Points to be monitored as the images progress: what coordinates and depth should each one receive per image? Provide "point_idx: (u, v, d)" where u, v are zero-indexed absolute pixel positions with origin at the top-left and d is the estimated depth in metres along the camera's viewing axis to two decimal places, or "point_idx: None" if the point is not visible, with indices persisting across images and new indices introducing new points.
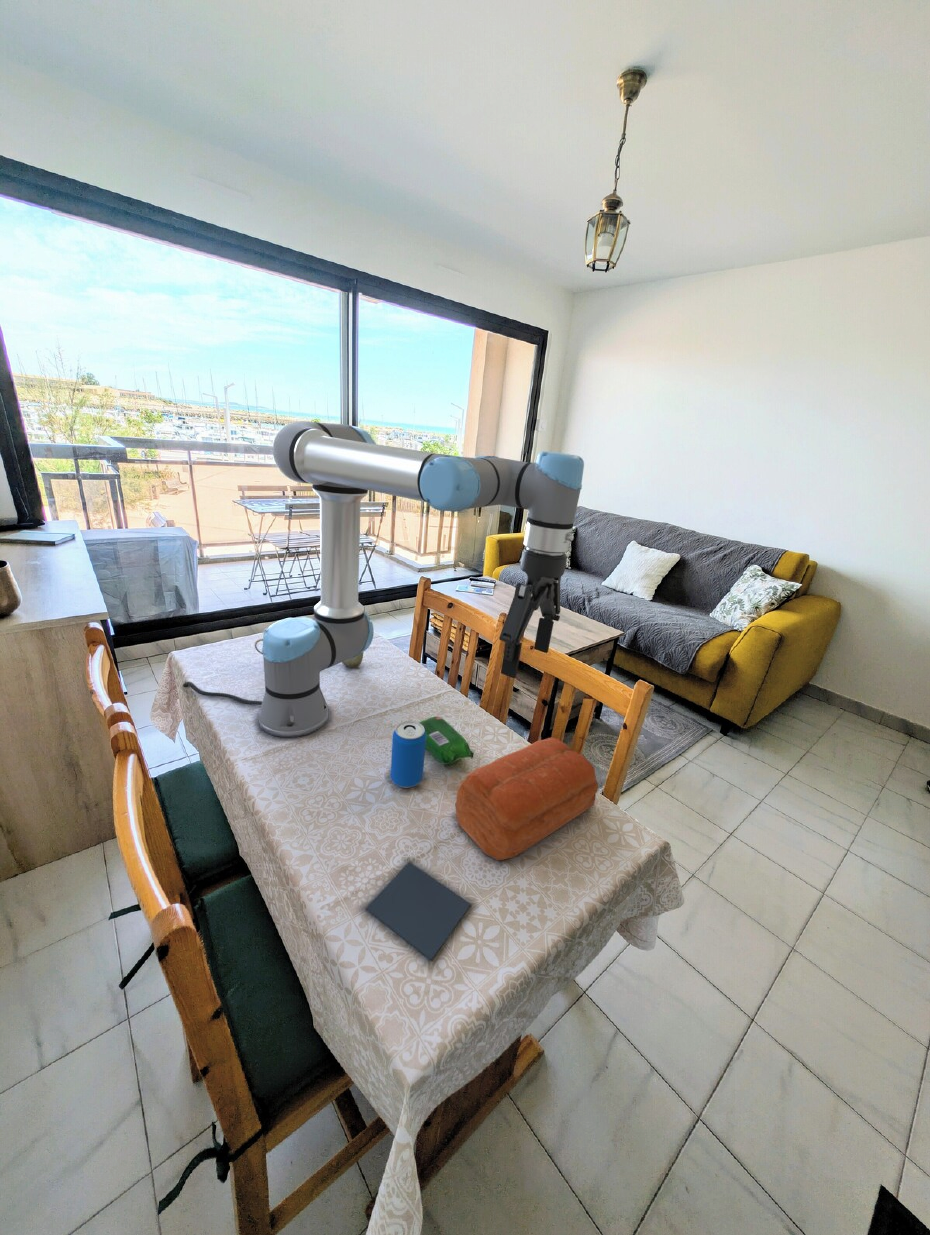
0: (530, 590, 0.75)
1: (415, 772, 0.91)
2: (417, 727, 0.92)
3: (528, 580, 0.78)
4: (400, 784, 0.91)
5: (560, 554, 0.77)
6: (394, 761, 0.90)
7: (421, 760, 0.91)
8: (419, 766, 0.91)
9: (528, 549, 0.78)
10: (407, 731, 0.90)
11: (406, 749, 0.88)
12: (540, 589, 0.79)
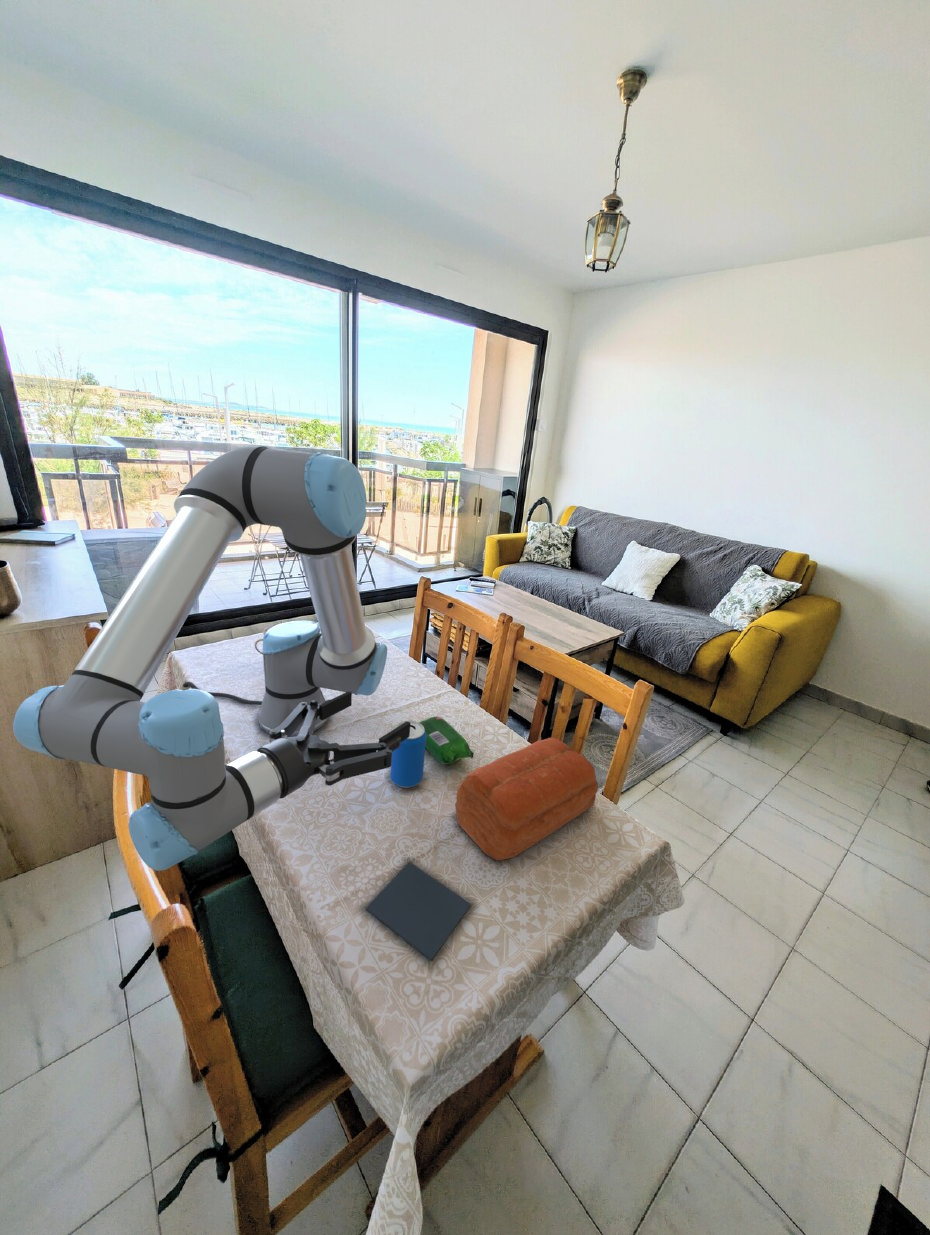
0: None
1: (415, 772, 0.91)
2: (417, 727, 0.92)
3: None
4: (400, 784, 0.91)
5: None
6: (394, 761, 0.90)
7: (421, 760, 0.91)
8: (419, 766, 0.91)
9: None
10: None
11: (406, 749, 0.88)
12: None
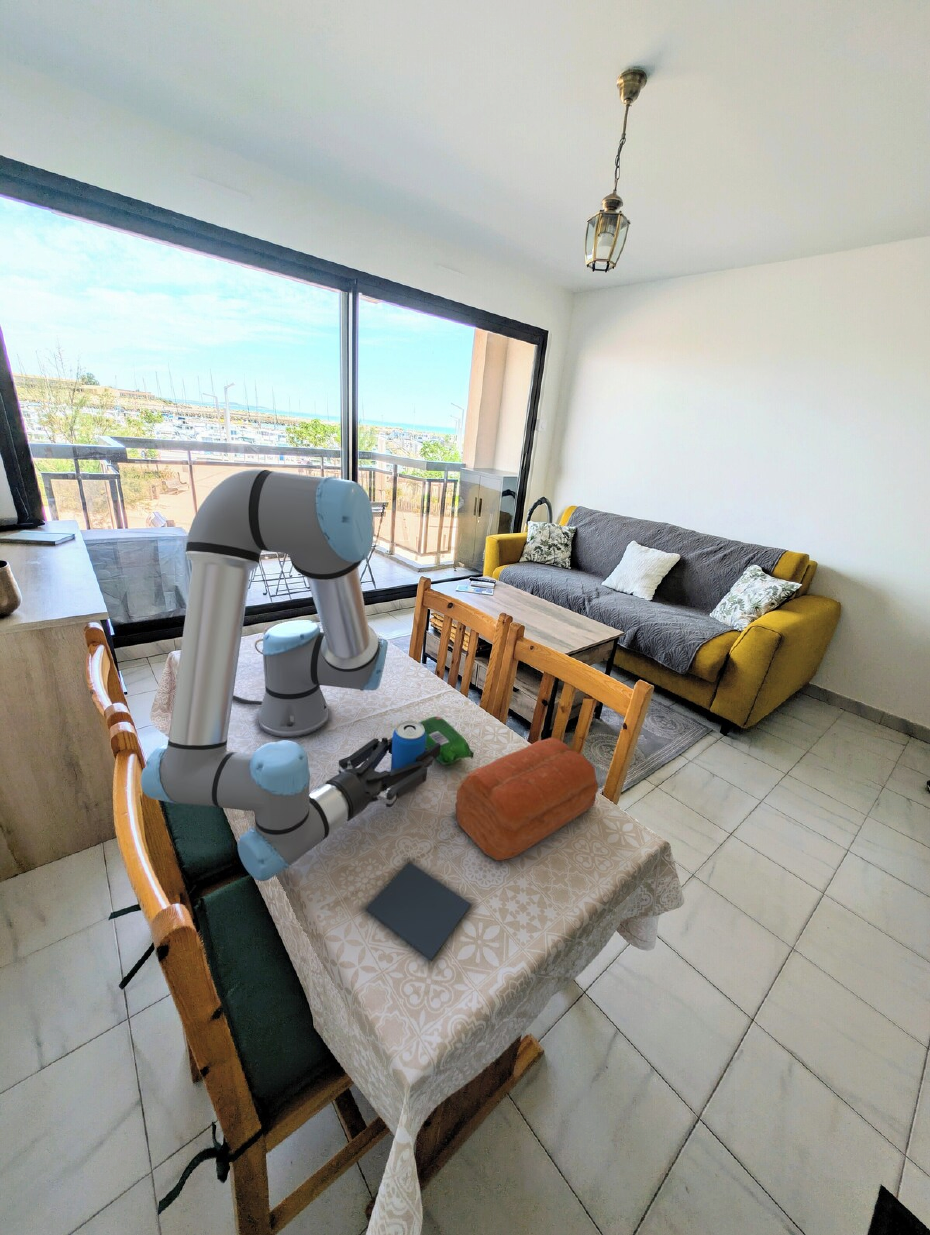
0: None
1: None
2: (417, 727, 0.92)
3: None
4: None
5: None
6: (394, 761, 0.90)
7: None
8: None
9: None
10: (407, 731, 0.90)
11: (406, 749, 0.88)
12: None
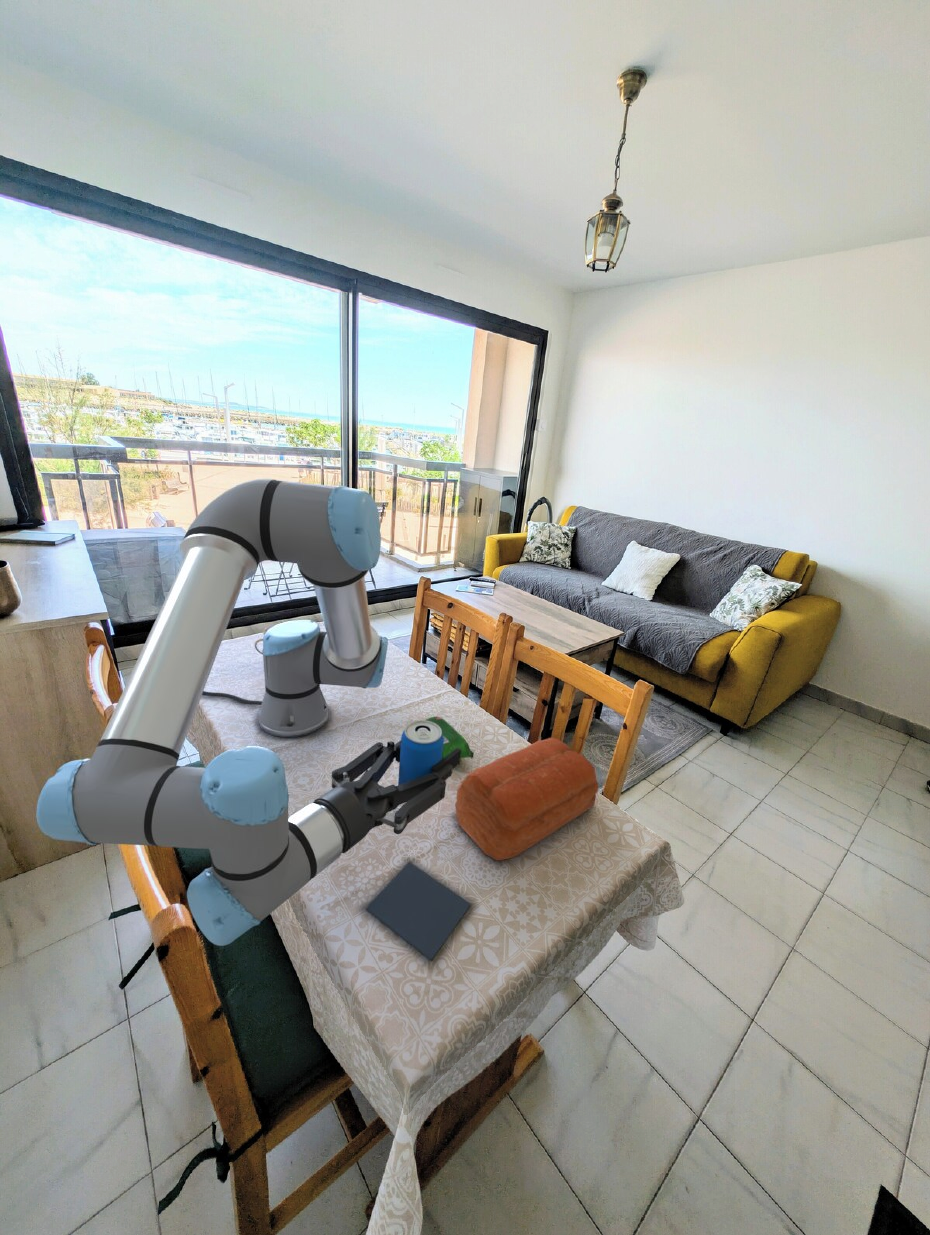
0: None
1: None
2: (432, 728, 0.72)
3: None
4: None
5: None
6: (403, 771, 0.71)
7: None
8: None
9: None
10: (419, 734, 0.70)
11: (418, 757, 0.69)
12: None
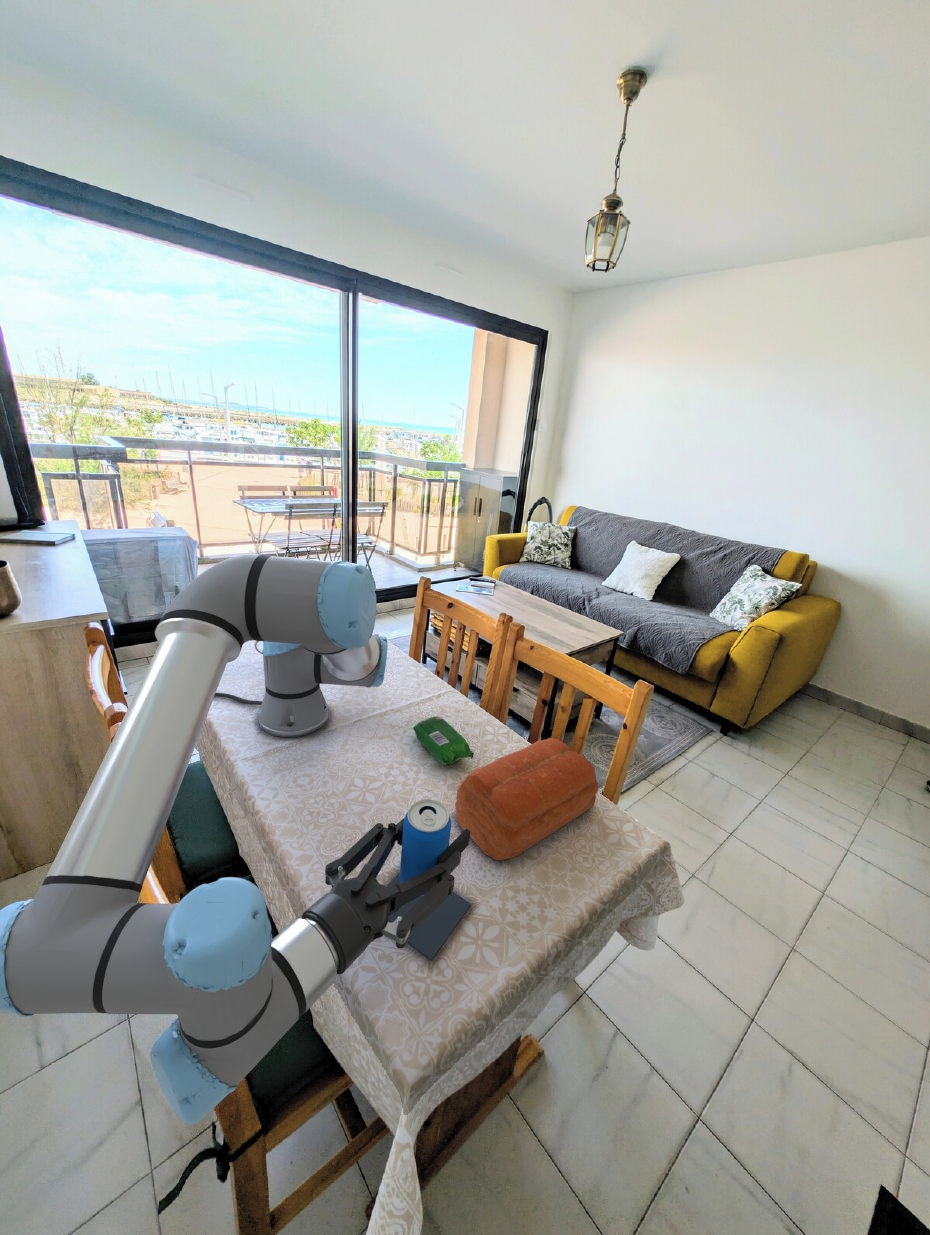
0: None
1: None
2: (438, 810, 0.64)
3: (330, 892, 0.57)
4: None
5: None
6: (406, 859, 0.63)
7: None
8: None
9: None
10: (424, 818, 0.63)
11: (423, 846, 0.61)
12: None
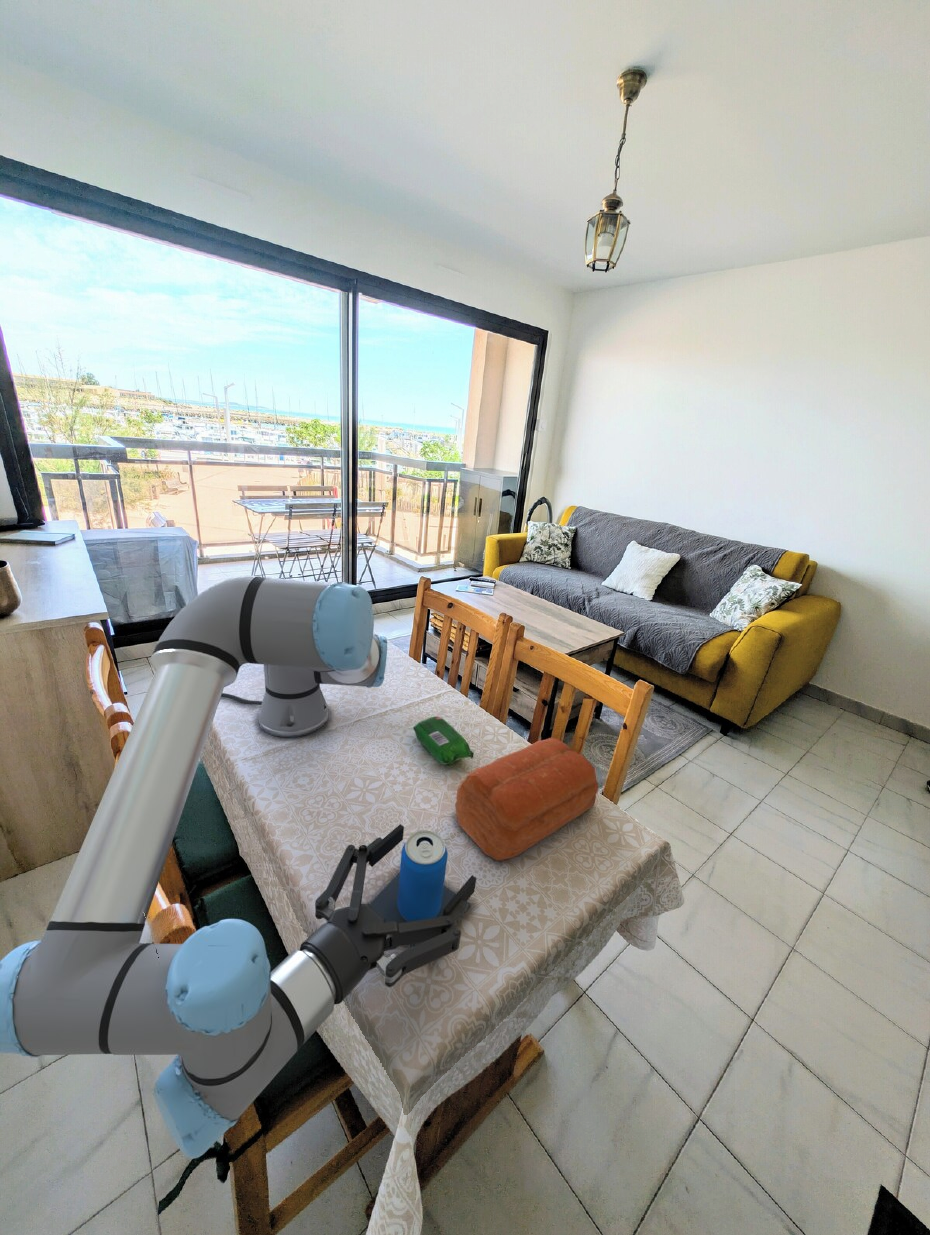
0: None
1: (432, 905, 0.66)
2: (435, 841, 0.66)
3: (328, 921, 0.58)
4: (411, 920, 0.66)
5: None
6: (403, 889, 0.65)
7: (440, 887, 0.66)
8: (437, 896, 0.66)
9: (302, 950, 0.53)
10: (421, 850, 0.65)
11: (420, 878, 0.63)
12: None
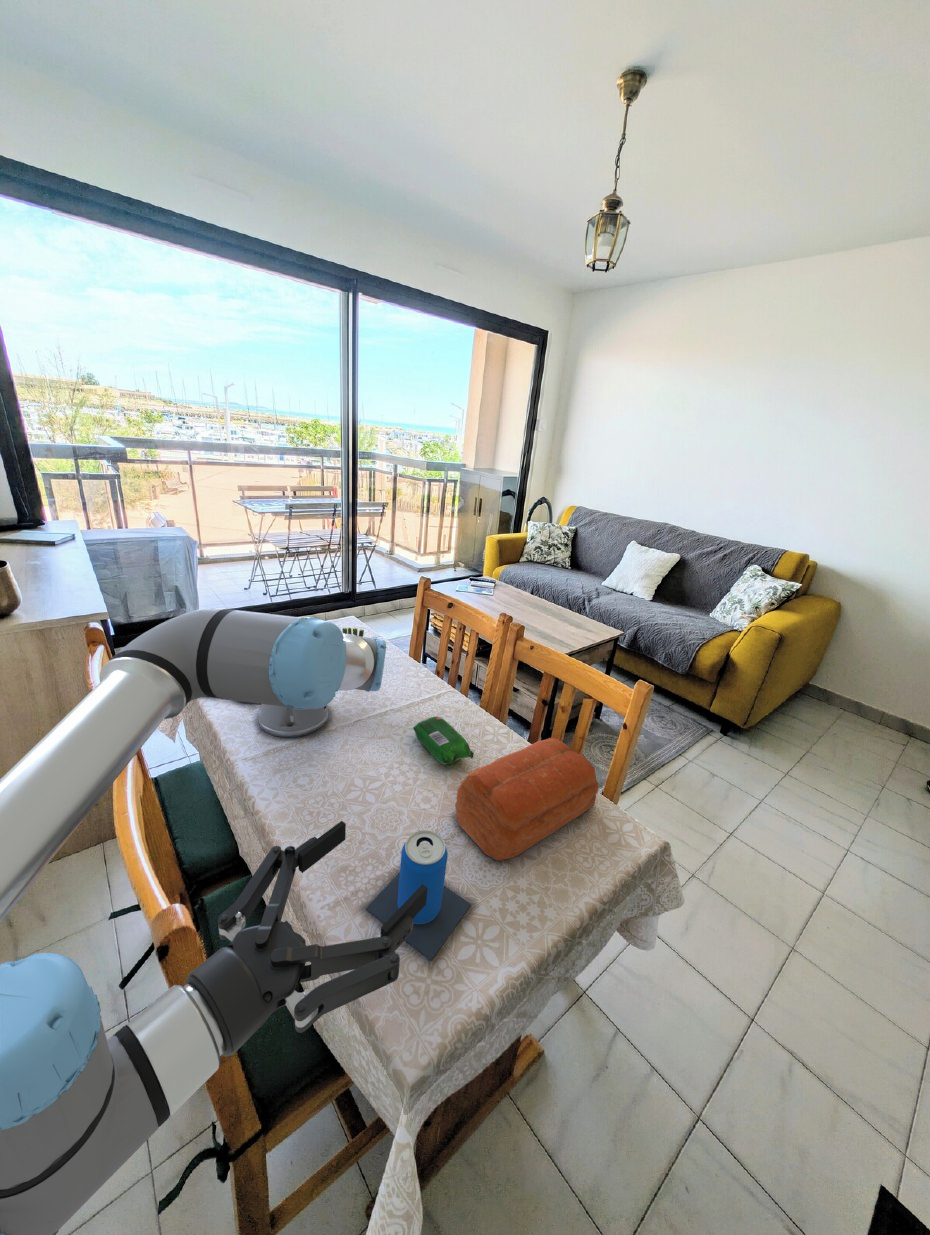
0: None
1: (432, 905, 0.66)
2: (435, 841, 0.66)
3: None
4: None
5: None
6: (403, 889, 0.65)
7: (440, 887, 0.66)
8: (437, 896, 0.66)
9: (185, 985, 0.41)
10: (421, 850, 0.65)
11: (420, 878, 0.63)
12: None
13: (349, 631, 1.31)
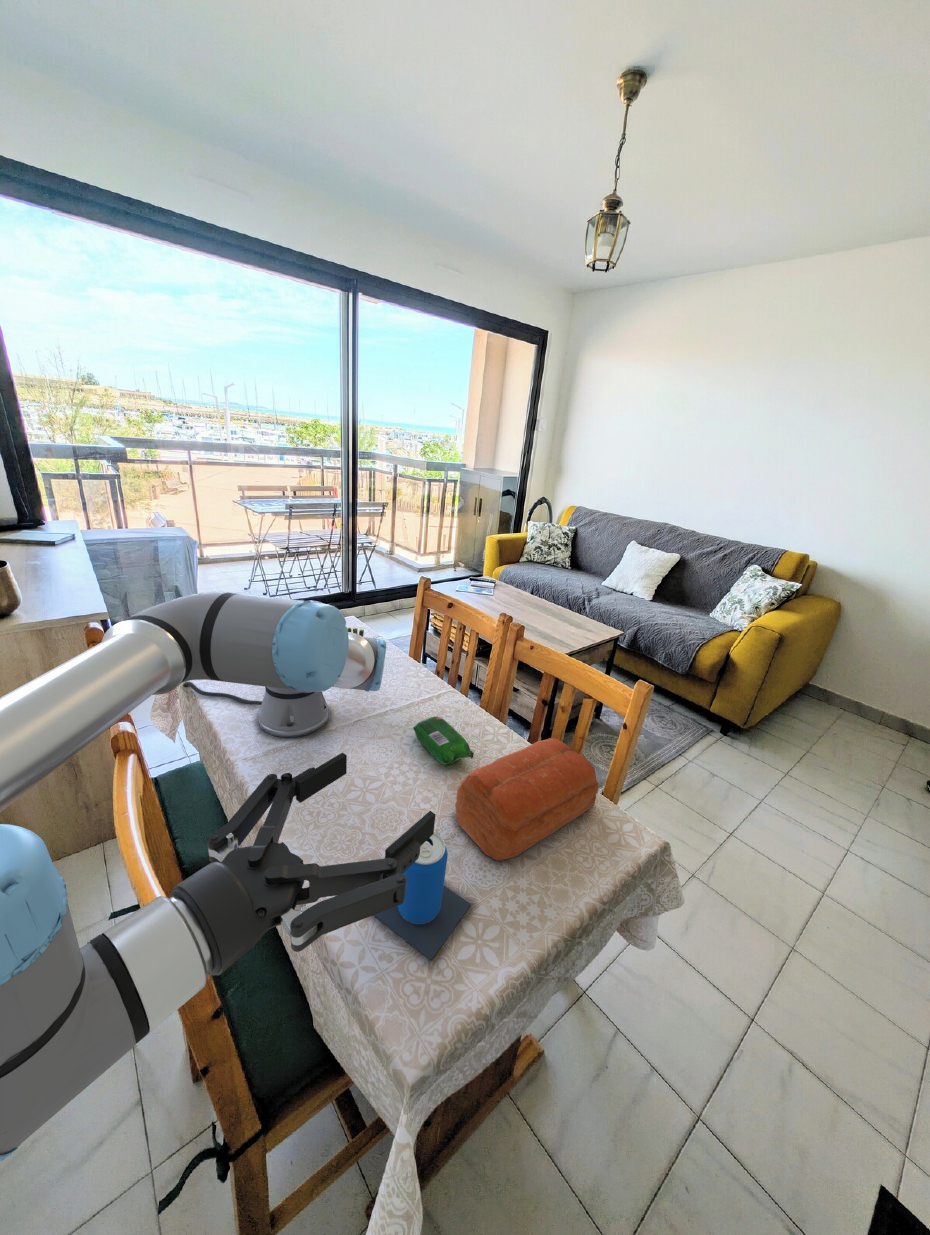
0: None
1: (432, 905, 0.66)
2: (435, 841, 0.66)
3: None
4: (411, 920, 0.66)
5: None
6: None
7: (440, 887, 0.66)
8: (437, 896, 0.66)
9: (169, 898, 0.37)
10: (421, 850, 0.65)
11: (420, 878, 0.63)
12: None
13: (349, 631, 1.31)
